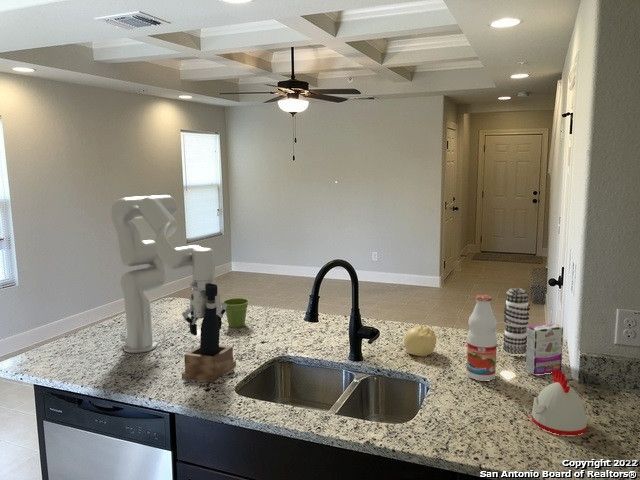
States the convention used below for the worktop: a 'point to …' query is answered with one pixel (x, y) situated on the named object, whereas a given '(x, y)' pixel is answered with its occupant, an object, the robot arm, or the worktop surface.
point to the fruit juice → (482, 341)
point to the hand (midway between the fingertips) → (206, 331)
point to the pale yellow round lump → (420, 341)
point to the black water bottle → (210, 324)
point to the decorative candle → (516, 321)
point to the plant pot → (236, 311)
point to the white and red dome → (559, 408)
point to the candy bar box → (544, 348)
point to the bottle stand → (208, 364)
